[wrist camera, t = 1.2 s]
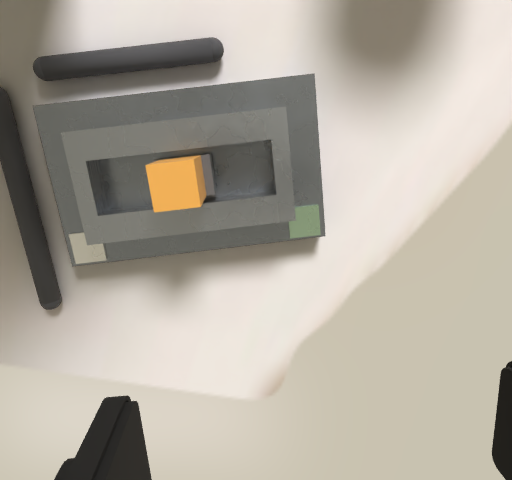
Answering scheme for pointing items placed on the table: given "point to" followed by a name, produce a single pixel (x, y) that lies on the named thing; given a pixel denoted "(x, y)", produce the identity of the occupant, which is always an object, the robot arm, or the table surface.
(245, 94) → the panel
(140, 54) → the rod
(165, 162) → the breaker lever
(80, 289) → the table surface
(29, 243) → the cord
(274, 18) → the table surface
